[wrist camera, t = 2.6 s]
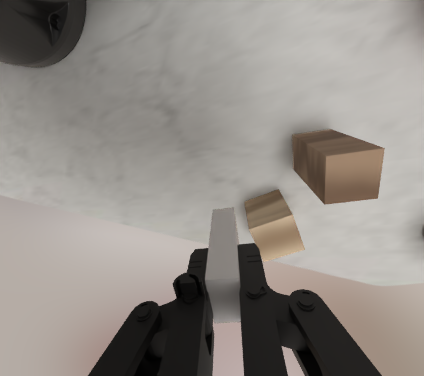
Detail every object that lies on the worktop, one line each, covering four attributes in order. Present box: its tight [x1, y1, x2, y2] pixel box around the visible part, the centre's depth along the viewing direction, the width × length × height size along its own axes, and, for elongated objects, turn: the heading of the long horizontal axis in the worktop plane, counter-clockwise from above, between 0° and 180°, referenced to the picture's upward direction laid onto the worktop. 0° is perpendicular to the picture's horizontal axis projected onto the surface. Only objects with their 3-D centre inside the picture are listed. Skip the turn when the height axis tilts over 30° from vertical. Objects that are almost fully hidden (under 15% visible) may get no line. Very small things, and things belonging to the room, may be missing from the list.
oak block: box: [244, 189, 305, 262], centre depth 29 cm, size 5×5×7 cm
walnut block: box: [292, 129, 385, 204], centre depth 24 cm, size 4×4×10 cm
